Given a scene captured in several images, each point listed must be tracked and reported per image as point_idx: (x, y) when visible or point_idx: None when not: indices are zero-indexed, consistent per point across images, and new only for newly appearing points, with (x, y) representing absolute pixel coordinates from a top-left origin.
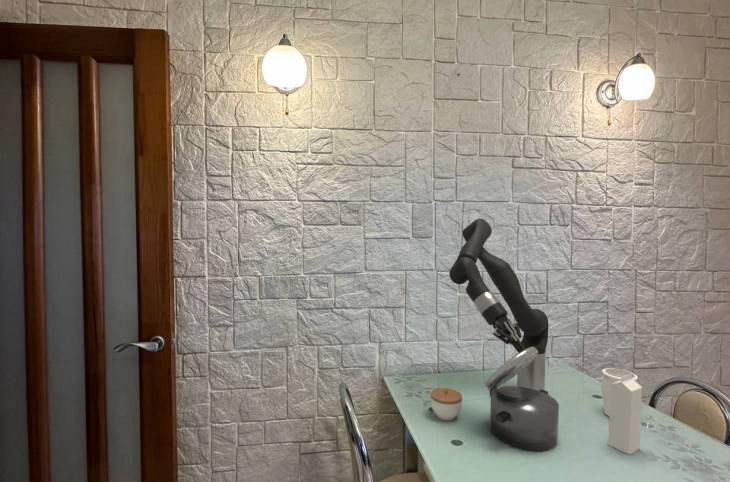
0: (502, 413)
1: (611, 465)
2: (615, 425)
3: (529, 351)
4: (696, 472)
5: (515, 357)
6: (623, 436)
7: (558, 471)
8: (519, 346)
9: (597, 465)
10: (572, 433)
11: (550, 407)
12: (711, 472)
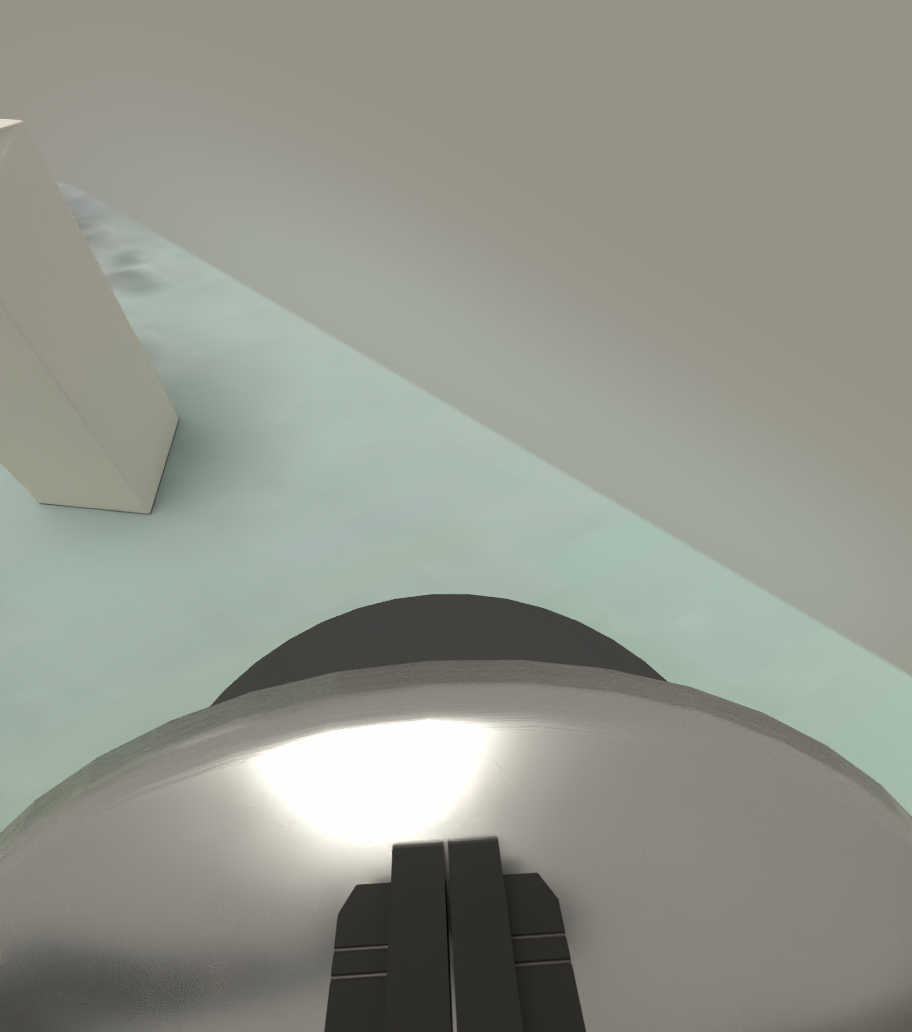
0: None
1: (356, 431)
2: (113, 408)
3: (523, 680)
4: (114, 229)
5: (872, 800)
6: (143, 394)
7: (644, 553)
8: (517, 964)
9: (415, 468)
10: (172, 696)
11: (399, 653)
12: (67, 201)
